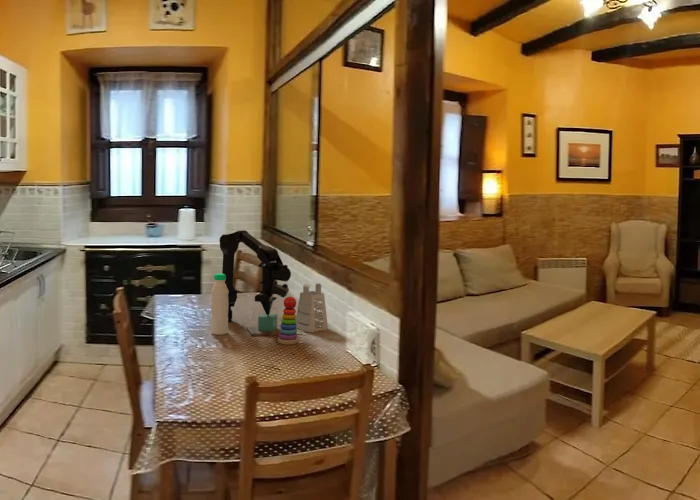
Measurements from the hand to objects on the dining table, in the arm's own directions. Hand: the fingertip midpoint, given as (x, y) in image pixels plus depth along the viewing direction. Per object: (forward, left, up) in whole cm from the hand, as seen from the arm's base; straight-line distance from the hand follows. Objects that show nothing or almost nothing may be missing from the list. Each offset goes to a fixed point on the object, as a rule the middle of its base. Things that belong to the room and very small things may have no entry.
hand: (267, 314), depth 265 cm
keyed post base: (0, 0, -7) cm, 7 cm away
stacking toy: (+4, -19, -8) cm, 21 cm away
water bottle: (-20, +2, -8) cm, 21 cm away
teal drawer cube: (0, 0, -6) cm, 6 cm away
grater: (+20, +2, -8) cm, 21 cm away
